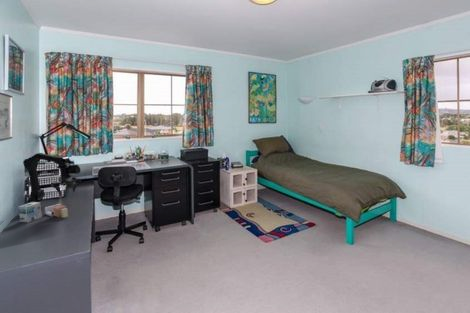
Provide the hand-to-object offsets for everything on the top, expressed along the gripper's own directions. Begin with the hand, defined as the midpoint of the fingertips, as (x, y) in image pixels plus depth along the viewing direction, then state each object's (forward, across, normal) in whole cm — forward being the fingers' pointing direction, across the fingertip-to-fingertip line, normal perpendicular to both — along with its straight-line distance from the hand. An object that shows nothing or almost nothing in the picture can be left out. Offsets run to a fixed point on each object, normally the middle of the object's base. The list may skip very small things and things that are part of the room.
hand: (67, 193), depth 200 cm
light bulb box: (+13, -24, +1) cm, 27 cm away
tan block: (+12, -9, 0) cm, 15 cm away
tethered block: (+12, -9, -10) cm, 18 cm away
